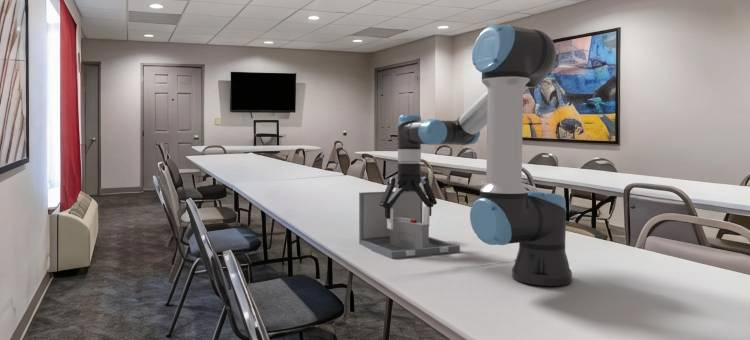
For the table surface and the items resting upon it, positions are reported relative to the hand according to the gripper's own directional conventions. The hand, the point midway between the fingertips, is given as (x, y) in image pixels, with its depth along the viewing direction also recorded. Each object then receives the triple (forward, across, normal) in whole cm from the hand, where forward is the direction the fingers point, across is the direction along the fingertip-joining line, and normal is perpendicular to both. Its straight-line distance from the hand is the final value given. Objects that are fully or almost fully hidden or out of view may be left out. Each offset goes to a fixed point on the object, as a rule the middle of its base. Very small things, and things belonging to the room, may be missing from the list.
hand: (408, 227), depth 167 cm
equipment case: (+7, 0, 0) cm, 7 cm away
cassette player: (+7, 0, 0) cm, 7 cm away
